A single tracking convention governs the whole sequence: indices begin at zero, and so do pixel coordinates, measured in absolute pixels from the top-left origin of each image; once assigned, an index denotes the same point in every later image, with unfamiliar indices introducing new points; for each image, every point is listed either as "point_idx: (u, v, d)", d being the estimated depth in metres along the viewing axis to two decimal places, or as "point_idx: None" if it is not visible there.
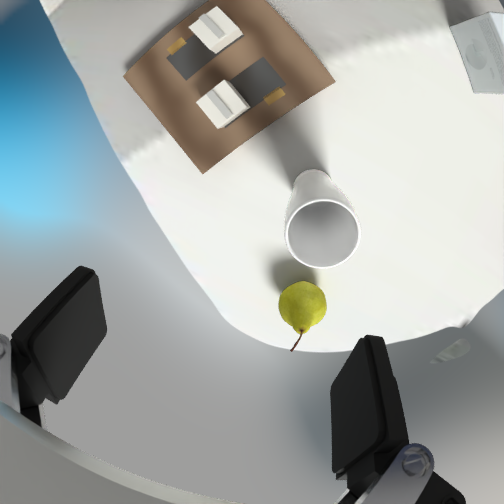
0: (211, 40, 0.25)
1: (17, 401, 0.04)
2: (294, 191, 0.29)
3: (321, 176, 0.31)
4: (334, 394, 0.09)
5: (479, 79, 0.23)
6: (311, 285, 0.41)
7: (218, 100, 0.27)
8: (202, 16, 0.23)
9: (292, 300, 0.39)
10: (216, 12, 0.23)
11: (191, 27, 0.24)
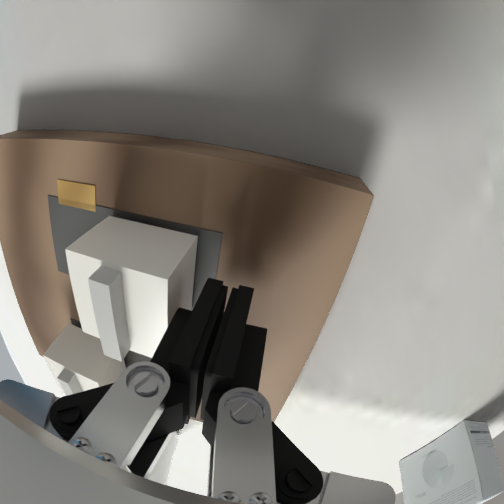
0: (95, 326, 0.10)
1: (138, 448, 0.05)
2: None
3: (157, 470, 0.20)
4: None
5: (412, 472, 0.21)
6: None
7: None
8: (99, 287, 0.08)
9: None
10: (151, 293, 0.09)
11: (70, 257, 0.09)
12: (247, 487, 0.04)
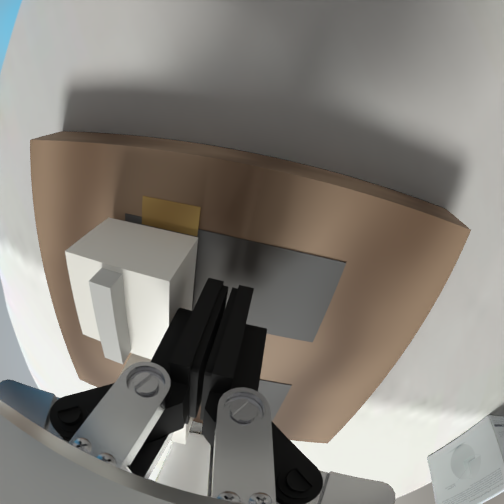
0: (96, 328, 0.10)
1: (138, 448, 0.05)
2: None
3: None
4: None
5: (441, 466, 0.21)
6: None
7: None
8: (100, 290, 0.08)
9: None
10: (152, 295, 0.09)
11: (70, 260, 0.08)
12: (246, 487, 0.04)
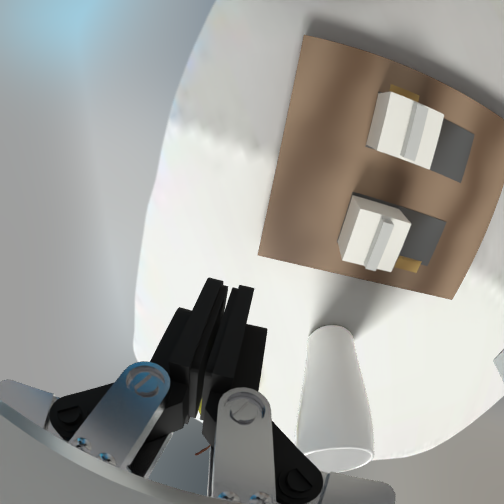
0: (391, 144, 0.16)
1: (138, 448, 0.05)
2: (338, 387, 0.22)
3: (359, 368, 0.25)
4: None
5: None
6: None
7: (384, 243, 0.18)
8: (422, 108, 0.14)
9: None
10: (435, 121, 0.14)
11: (393, 97, 0.14)
12: (247, 487, 0.04)
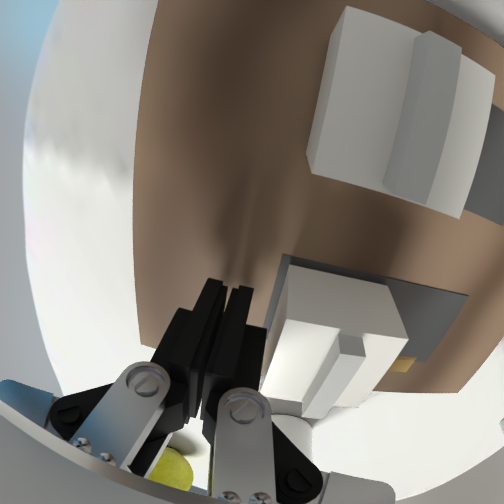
0: (356, 152, 0.06)
1: (138, 448, 0.05)
2: None
3: None
4: None
5: None
6: (186, 472, 0.24)
7: (341, 386, 0.08)
8: (446, 47, 0.04)
9: (155, 481, 0.22)
10: (476, 89, 0.04)
11: (355, 18, 0.04)
12: (247, 487, 0.04)
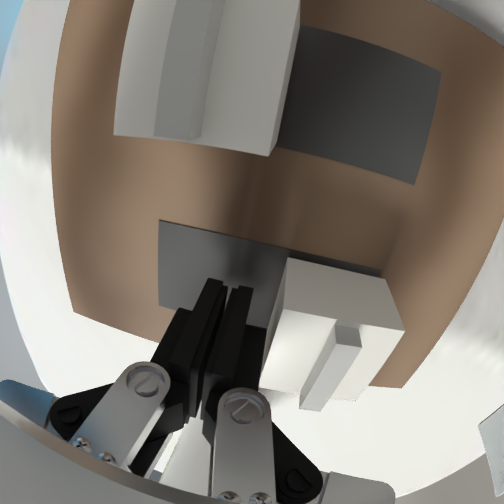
0: (143, 109, 0.06)
1: (138, 448, 0.05)
2: None
3: None
4: None
5: (496, 433, 0.17)
6: None
7: (337, 377, 0.08)
8: None
9: None
10: (269, 15, 0.05)
11: (141, 1, 0.05)
12: (246, 487, 0.04)
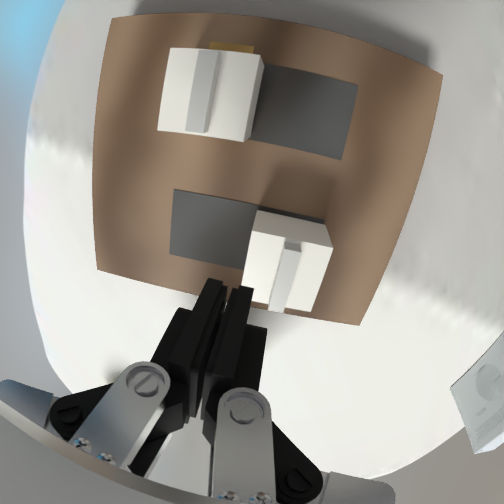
0: (176, 116, 0.12)
1: (138, 448, 0.05)
2: (185, 426, 0.17)
3: None
4: None
5: (467, 393, 0.24)
6: None
7: (289, 278, 0.14)
8: (207, 54, 0.10)
9: None
10: (244, 68, 0.10)
11: (173, 53, 0.10)
12: (246, 487, 0.04)
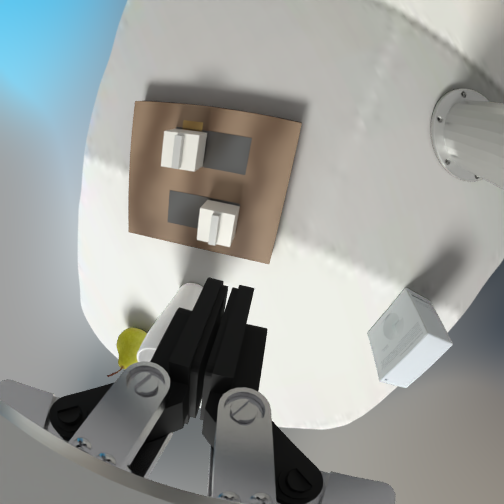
0: (168, 161, 0.30)
1: (138, 448, 0.05)
2: (169, 316, 0.36)
3: None
4: None
5: (377, 335, 0.41)
6: None
7: (215, 228, 0.32)
8: (178, 137, 0.28)
9: (128, 344, 0.46)
10: (193, 141, 0.28)
11: (165, 133, 0.28)
12: (246, 487, 0.04)
